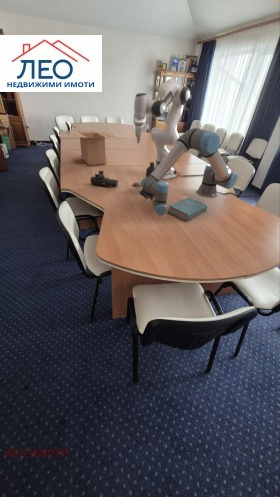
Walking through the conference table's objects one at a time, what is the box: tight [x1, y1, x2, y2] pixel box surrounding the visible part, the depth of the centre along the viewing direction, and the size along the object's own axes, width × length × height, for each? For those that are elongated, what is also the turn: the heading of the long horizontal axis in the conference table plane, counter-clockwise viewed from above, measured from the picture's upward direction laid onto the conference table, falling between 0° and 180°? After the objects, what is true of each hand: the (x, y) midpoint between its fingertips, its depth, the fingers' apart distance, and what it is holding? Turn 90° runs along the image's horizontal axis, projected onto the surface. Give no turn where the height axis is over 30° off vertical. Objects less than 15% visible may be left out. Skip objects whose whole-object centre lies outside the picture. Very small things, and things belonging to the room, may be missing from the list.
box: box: [70, 129, 114, 166], centre depth 229 cm, size 44×36×27 cm
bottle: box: [145, 161, 156, 193], centre depth 169 cm, size 8×8×24 cm
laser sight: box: [89, 170, 119, 188], centre depth 180 cm, size 10×22×10 cm, turn 78°
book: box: [167, 196, 208, 222], centre depth 151 cm, size 23×16×5 cm
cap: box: [133, 181, 140, 188], centre depth 186 cm, size 4×4×2 cm
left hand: (138, 141), depth 167 cm, fingers open, 8 cm apart
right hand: (152, 188), depth 164 cm, fingers open, 13 cm apart
